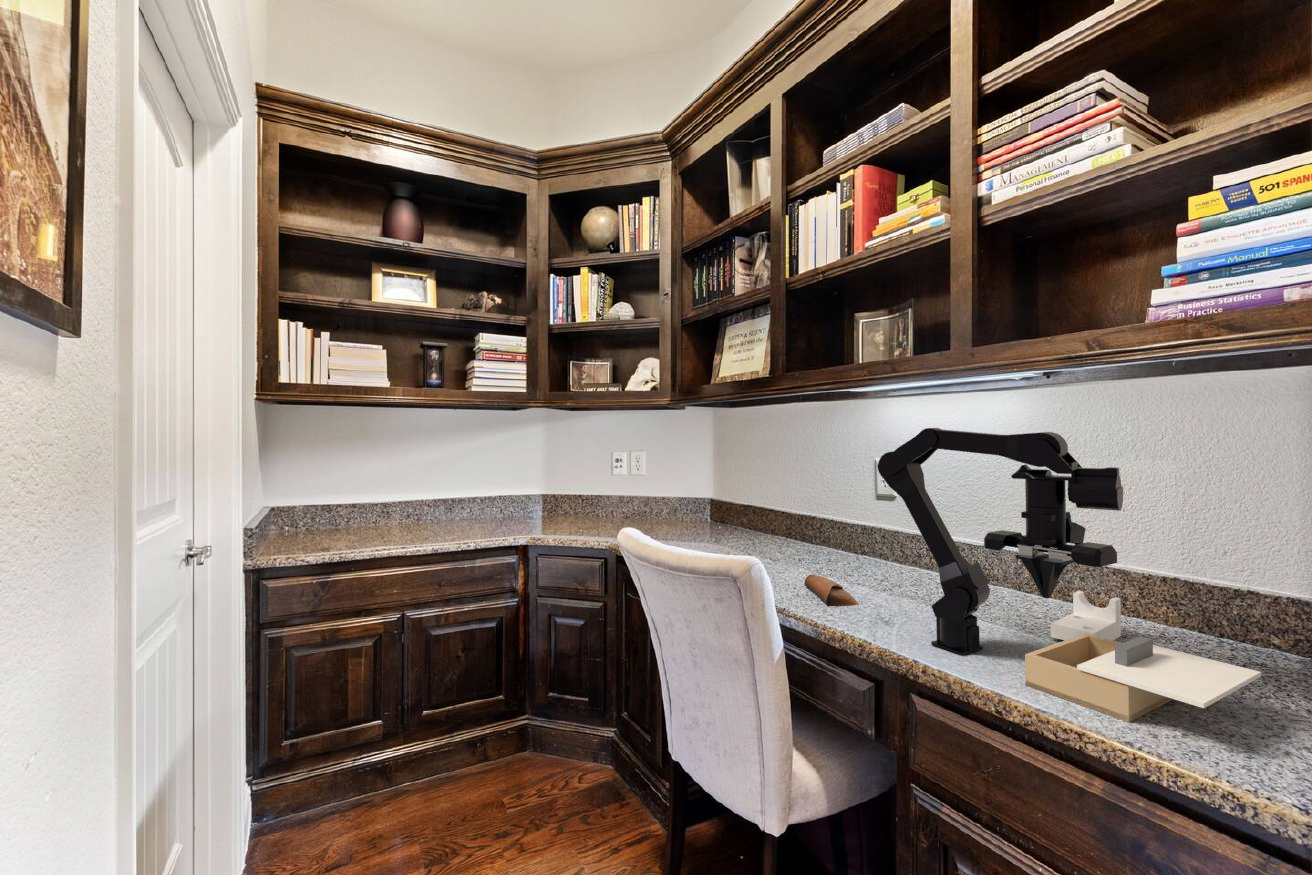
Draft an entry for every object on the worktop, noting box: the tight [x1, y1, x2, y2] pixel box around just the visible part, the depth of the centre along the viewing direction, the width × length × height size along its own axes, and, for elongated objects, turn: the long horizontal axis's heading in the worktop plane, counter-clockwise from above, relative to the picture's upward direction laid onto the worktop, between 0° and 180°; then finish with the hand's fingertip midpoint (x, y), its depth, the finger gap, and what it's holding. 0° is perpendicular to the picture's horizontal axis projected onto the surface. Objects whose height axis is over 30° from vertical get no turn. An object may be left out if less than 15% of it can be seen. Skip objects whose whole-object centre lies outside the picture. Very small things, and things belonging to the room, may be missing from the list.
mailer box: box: [1024, 634, 1174, 723], centre depth 94 cm, size 14×18×5 cm
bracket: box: [1050, 590, 1122, 641], centre depth 115 cm, size 13×7×8 cm, turn 125°
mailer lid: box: [1077, 636, 1262, 709], centre depth 86 cm, size 15×19×3 cm
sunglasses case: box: [804, 574, 860, 607], centre depth 148 cm, size 18×7×7 cm
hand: (1046, 597), depth 102 cm, fingers closed
